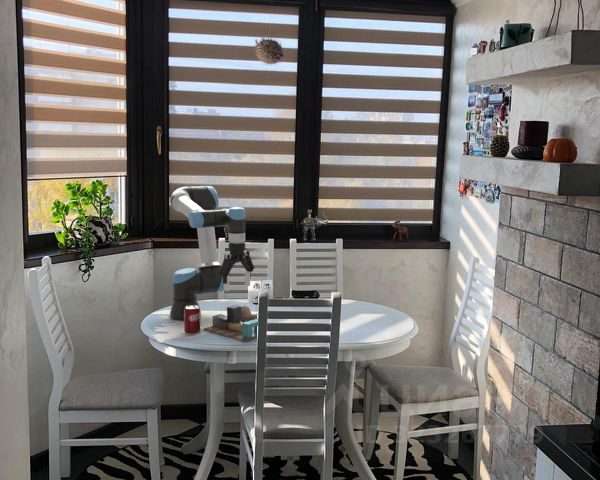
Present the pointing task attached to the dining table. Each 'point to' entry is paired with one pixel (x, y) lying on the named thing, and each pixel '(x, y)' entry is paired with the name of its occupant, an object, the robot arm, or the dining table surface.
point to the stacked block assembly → (221, 323)
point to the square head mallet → (234, 318)
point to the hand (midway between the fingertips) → (237, 288)
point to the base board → (229, 333)
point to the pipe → (247, 314)
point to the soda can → (192, 319)
